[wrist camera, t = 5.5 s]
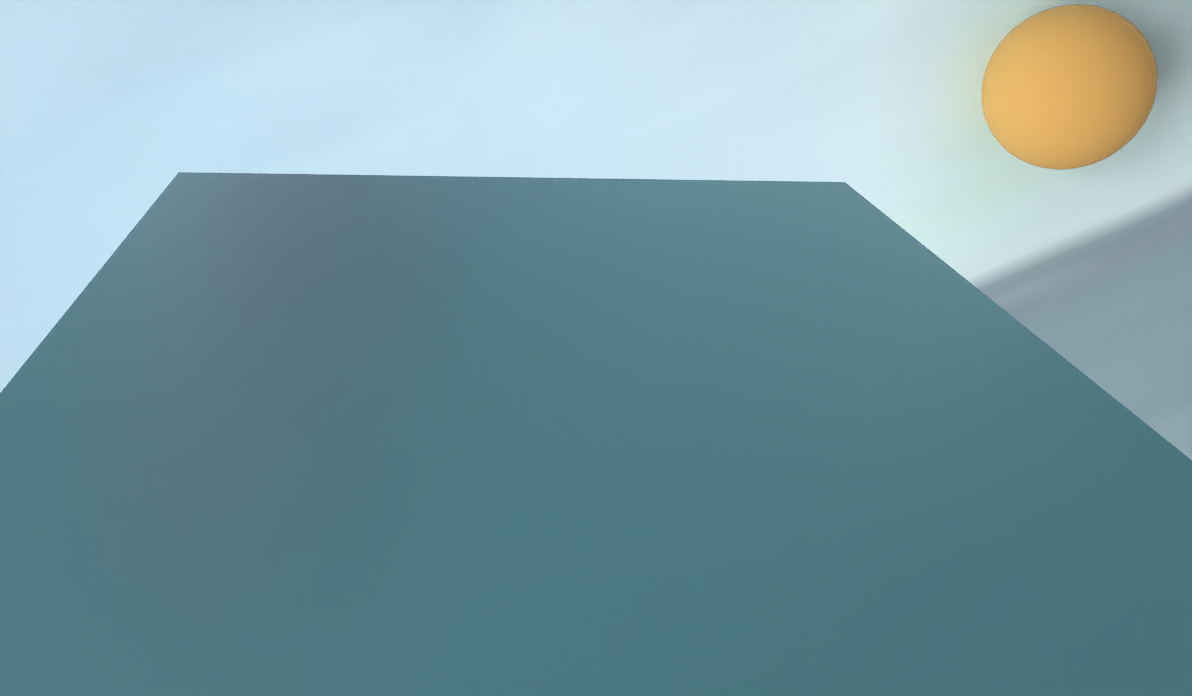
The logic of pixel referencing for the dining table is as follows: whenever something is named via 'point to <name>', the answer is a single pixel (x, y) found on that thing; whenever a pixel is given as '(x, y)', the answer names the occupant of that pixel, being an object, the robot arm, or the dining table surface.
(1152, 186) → the dining table surface
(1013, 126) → the ball
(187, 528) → the teal square block
